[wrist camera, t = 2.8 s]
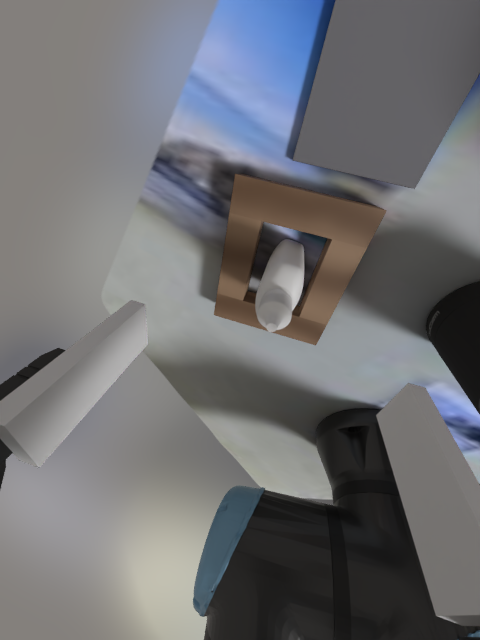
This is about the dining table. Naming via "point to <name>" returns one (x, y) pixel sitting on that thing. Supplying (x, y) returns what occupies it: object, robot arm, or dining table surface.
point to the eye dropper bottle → (280, 285)
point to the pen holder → (459, 337)
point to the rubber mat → (389, 86)
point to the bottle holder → (303, 215)
